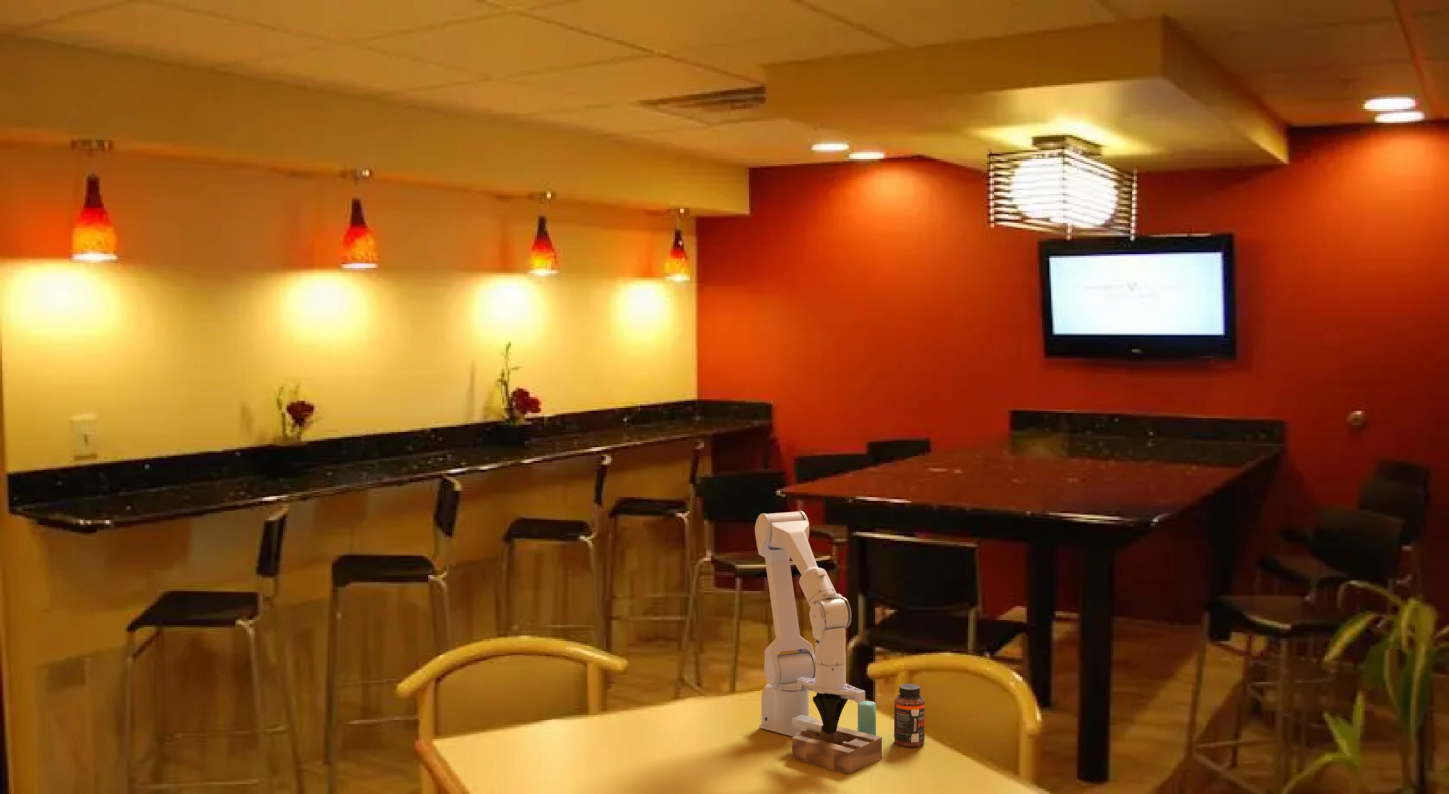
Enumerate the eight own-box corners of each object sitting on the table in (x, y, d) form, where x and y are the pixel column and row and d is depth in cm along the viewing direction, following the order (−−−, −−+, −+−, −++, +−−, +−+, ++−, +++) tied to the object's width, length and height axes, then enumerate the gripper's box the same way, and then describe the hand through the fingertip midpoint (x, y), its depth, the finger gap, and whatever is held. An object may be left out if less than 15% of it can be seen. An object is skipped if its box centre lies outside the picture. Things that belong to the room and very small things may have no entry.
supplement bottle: (924, 749, 242) (924, 691, 241) (893, 747, 243) (893, 690, 242) (925, 739, 248) (925, 682, 247) (895, 737, 249) (895, 681, 248)
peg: (854, 738, 248) (854, 704, 247) (864, 734, 251) (864, 699, 250) (869, 742, 246) (869, 707, 245) (879, 738, 248) (879, 703, 248)
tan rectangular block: (792, 727, 242) (792, 718, 242) (801, 723, 244) (801, 714, 244) (821, 735, 237) (821, 726, 237) (830, 731, 239) (830, 722, 239)
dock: (792, 758, 237) (791, 735, 237) (826, 743, 245) (826, 720, 245) (848, 774, 229) (848, 750, 228) (881, 758, 237) (881, 734, 237)
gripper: (787, 659, 238) (787, 729, 239) (849, 673, 229) (850, 746, 230) (809, 652, 244) (809, 720, 245) (871, 665, 234) (871, 736, 235)
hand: (830, 732), depth 238 cm, fingers closed
